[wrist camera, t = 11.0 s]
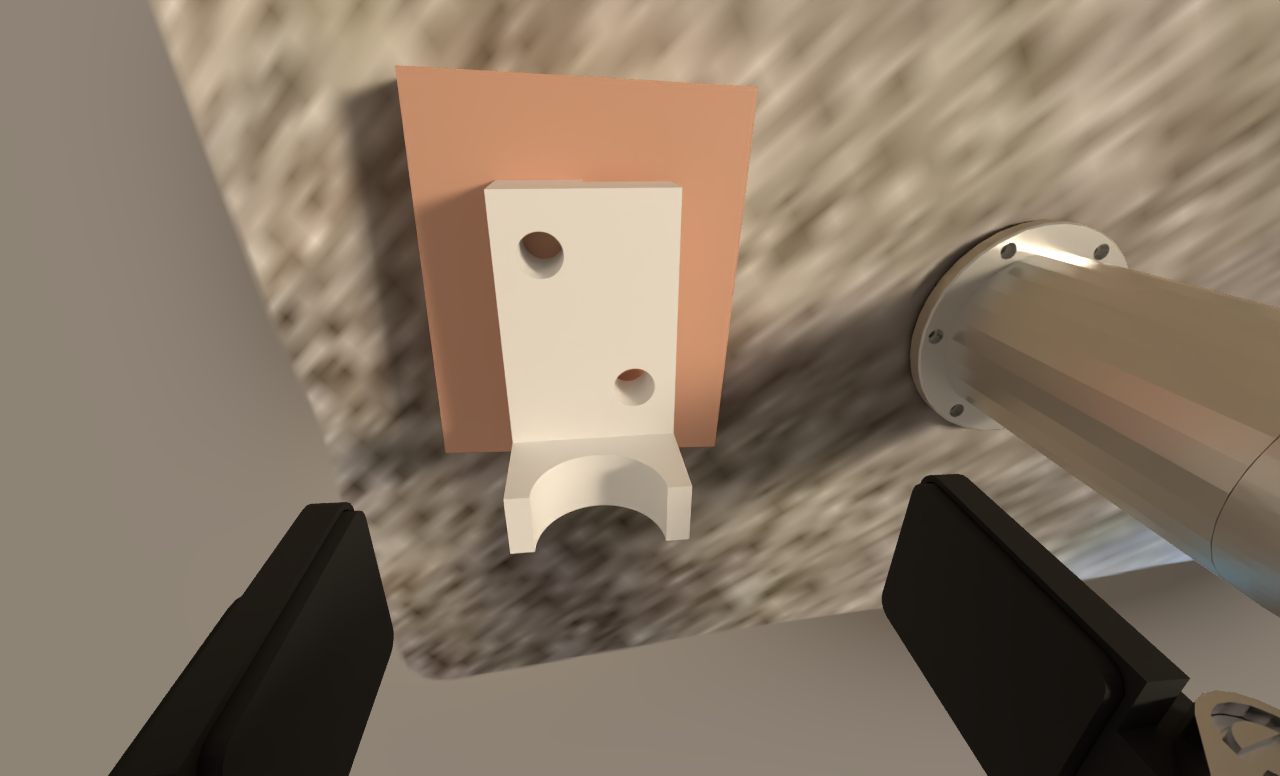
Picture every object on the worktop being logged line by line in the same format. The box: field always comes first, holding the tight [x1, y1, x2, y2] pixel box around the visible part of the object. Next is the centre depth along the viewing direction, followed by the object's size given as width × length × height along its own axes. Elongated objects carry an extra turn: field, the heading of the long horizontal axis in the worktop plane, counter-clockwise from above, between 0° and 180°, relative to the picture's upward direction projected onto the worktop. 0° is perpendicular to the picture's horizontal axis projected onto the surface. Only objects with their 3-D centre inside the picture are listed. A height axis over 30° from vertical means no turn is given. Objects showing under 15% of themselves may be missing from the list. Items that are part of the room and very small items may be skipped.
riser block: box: [395, 65, 758, 453], centre depth 27 cm, size 14×17×4 cm
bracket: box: [484, 180, 692, 554], centre depth 22 cm, size 13×7×8 cm, turn 0°
